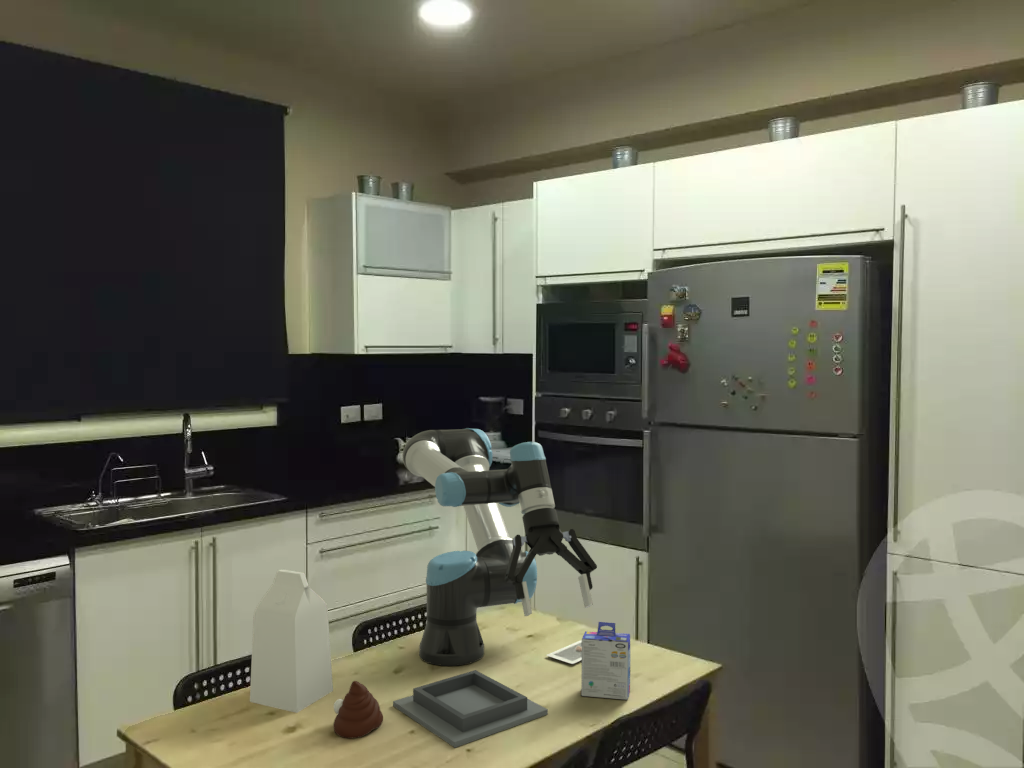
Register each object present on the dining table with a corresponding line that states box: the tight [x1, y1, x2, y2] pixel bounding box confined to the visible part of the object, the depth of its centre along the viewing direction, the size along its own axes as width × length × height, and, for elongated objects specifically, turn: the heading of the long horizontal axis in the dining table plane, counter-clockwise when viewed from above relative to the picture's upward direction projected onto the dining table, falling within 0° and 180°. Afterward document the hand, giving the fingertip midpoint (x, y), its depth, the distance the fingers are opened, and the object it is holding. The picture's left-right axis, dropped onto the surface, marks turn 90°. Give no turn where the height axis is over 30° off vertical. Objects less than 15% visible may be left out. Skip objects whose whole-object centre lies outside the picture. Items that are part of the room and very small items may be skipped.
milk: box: [249, 568, 334, 714], centre depth 171 cm, size 12×12×26 cm
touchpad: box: [545, 639, 582, 665], centre depth 195 cm, size 8×15×2 cm, turn 138°
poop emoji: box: [333, 680, 384, 739], centre depth 157 cm, size 10×8×9 cm
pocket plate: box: [392, 669, 549, 748], centre depth 165 cm, size 22×22×4 cm
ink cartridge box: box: [580, 621, 631, 700], centre depth 172 cm, size 10×6×14 cm, turn 78°
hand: (559, 610), depth 171 cm, fingers open, 13 cm apart
